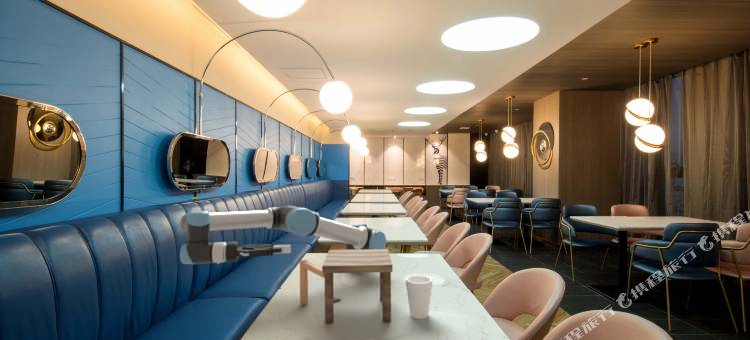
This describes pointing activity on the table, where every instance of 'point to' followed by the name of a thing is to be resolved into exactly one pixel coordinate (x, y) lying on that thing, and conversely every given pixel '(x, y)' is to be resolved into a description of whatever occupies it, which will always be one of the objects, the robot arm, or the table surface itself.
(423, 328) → the table surface
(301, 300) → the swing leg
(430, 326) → the table surface
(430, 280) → the foam cup
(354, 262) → the stool
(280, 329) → the table surface
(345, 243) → the robot arm
